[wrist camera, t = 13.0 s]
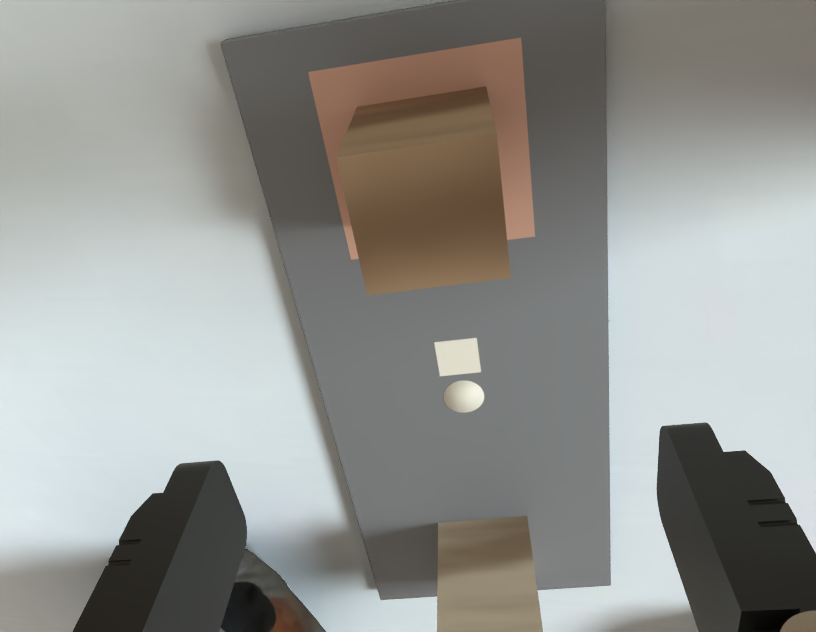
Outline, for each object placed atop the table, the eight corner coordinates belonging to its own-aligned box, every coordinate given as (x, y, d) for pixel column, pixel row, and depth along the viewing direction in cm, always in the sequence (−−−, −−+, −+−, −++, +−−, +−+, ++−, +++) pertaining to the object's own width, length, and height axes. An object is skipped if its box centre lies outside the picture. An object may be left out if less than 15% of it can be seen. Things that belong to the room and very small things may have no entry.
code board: (226, 39, 26) (220, 43, 25) (600, -25, 24) (605, -23, 23) (381, 588, 43) (380, 600, 42) (607, 573, 41) (610, 585, 40)
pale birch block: (437, 522, 38) (436, 637, 32) (527, 515, 38) (543, 632, 32) (449, 579, 41) (450, 696, 35) (533, 574, 40) (548, 691, 34)
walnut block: (357, 107, 26) (336, 157, 21) (486, 86, 26) (496, 133, 20) (380, 224, 29) (367, 295, 24) (498, 208, 28) (510, 278, 23)
